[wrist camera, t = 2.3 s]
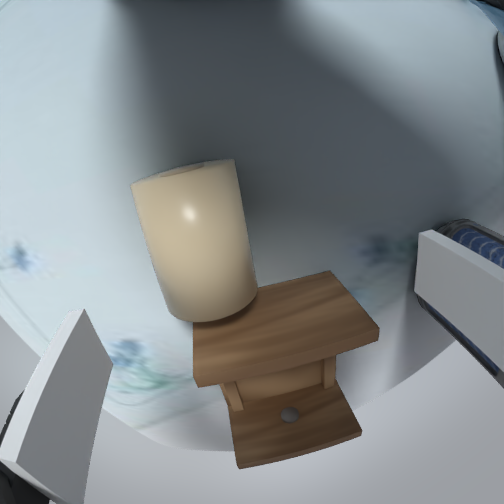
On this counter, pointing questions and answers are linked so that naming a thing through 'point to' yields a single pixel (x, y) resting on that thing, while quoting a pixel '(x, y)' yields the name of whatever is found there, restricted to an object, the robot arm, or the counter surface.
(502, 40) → the teacup
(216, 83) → the counter surface
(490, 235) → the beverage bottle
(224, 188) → the cylinder
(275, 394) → the holder
